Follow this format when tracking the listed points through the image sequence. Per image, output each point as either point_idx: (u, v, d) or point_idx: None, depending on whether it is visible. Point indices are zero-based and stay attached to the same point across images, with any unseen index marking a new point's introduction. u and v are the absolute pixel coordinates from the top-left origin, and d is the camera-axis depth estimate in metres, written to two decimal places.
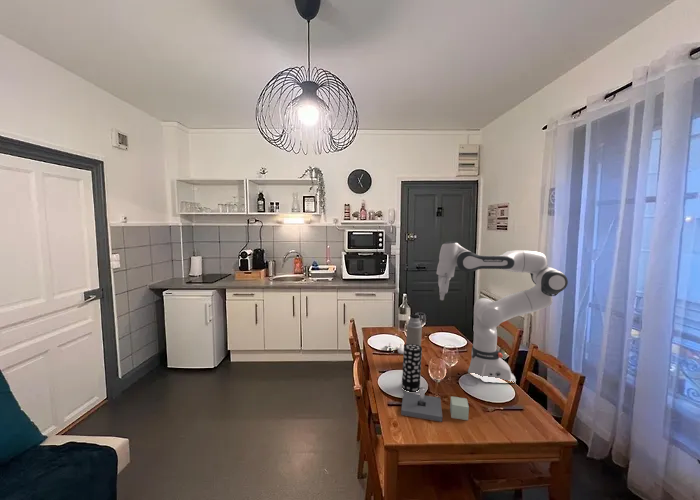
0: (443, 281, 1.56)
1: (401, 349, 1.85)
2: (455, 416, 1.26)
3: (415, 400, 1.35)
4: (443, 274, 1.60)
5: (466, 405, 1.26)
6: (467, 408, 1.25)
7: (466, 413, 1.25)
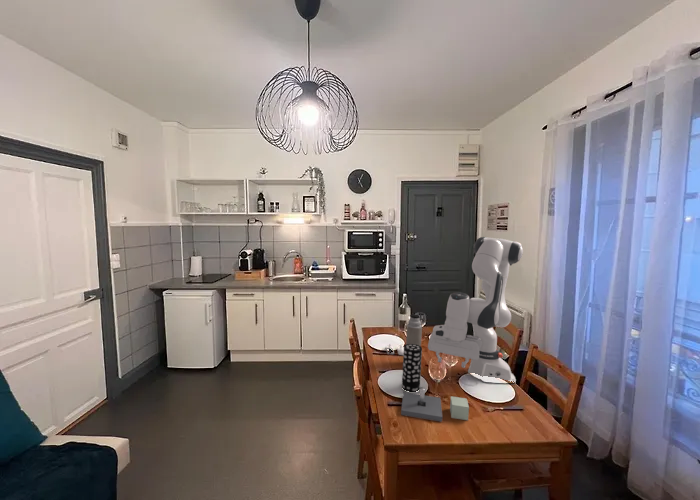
0: (478, 346, 1.25)
1: (401, 350, 1.83)
2: (455, 416, 1.26)
3: (415, 400, 1.35)
4: (465, 337, 1.26)
5: (466, 405, 1.26)
6: (467, 408, 1.25)
7: (466, 413, 1.25)
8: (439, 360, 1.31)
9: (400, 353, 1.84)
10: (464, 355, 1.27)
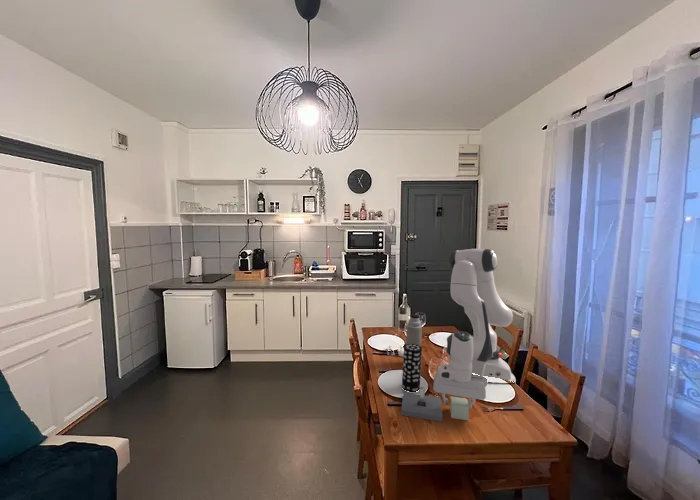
0: (484, 385, 1.25)
1: (402, 352, 1.82)
2: (455, 416, 1.26)
3: (415, 400, 1.35)
4: (471, 377, 1.25)
5: (466, 405, 1.26)
6: (467, 408, 1.25)
7: (466, 413, 1.25)
8: (445, 401, 1.29)
9: (401, 354, 1.82)
10: (471, 396, 1.25)
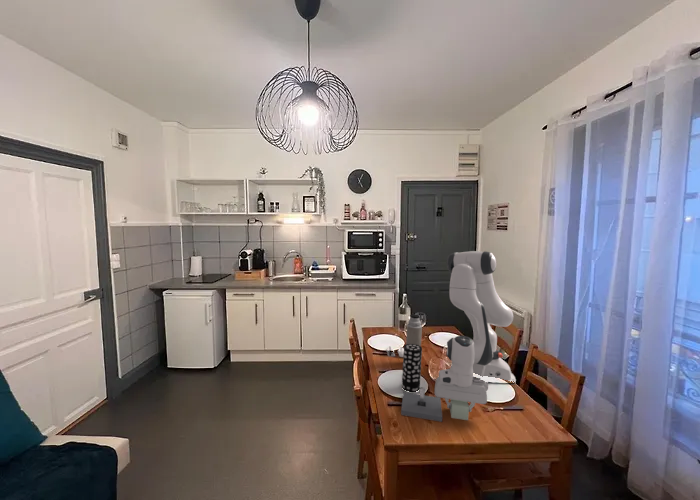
0: (486, 390, 1.25)
1: (402, 353, 1.81)
2: (455, 416, 1.26)
3: (415, 400, 1.35)
4: (472, 381, 1.26)
5: (466, 405, 1.26)
6: (467, 408, 1.25)
7: (466, 413, 1.25)
8: (449, 406, 1.29)
9: (401, 355, 1.81)
10: (472, 400, 1.26)
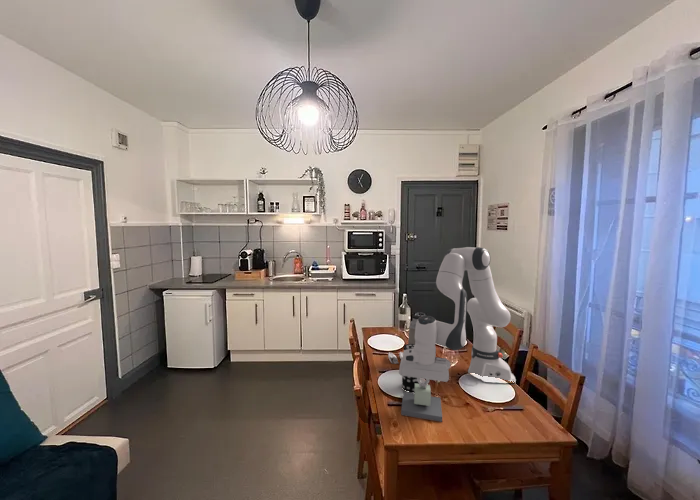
0: (447, 368, 1.27)
1: None
2: (417, 403, 1.29)
3: None
4: (435, 360, 1.28)
5: (428, 391, 1.29)
6: (429, 394, 1.28)
7: (428, 399, 1.28)
8: (420, 386, 1.31)
9: None
10: (434, 378, 1.28)
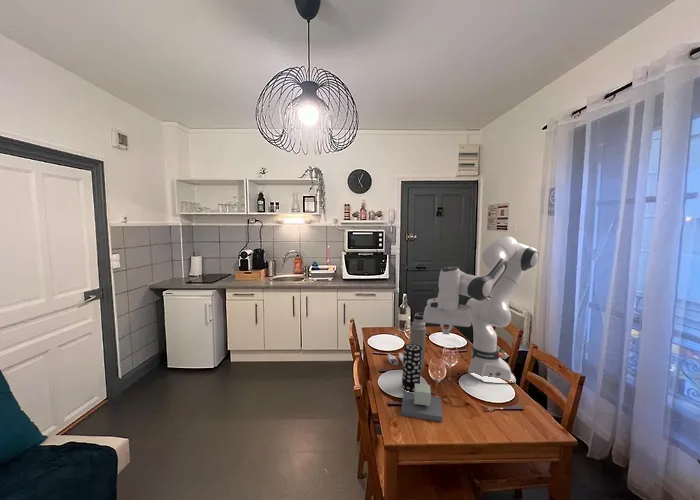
0: (470, 313, 1.35)
1: None
2: (417, 402, 1.29)
3: None
4: (458, 306, 1.36)
5: (428, 391, 1.29)
6: (429, 394, 1.28)
7: (428, 399, 1.28)
8: (444, 332, 1.38)
9: None
10: (457, 323, 1.36)
